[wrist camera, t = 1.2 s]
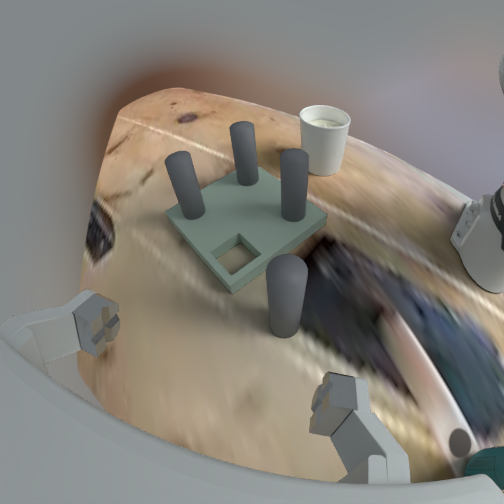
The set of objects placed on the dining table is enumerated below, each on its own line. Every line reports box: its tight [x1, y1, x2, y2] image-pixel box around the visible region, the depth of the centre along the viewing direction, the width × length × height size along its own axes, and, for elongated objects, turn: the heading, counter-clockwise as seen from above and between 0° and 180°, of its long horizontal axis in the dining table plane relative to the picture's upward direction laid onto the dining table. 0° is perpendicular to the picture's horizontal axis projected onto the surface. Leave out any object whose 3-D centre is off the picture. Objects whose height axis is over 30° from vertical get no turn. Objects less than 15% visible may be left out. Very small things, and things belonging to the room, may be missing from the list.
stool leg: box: [266, 254, 308, 338], centre depth 33 cm, size 4×4×14 cm
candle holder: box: [299, 105, 351, 176], centre depth 53 cm, size 10×10×12 cm
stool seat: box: [165, 121, 327, 294], centre depth 45 cm, size 20×20×14 cm
